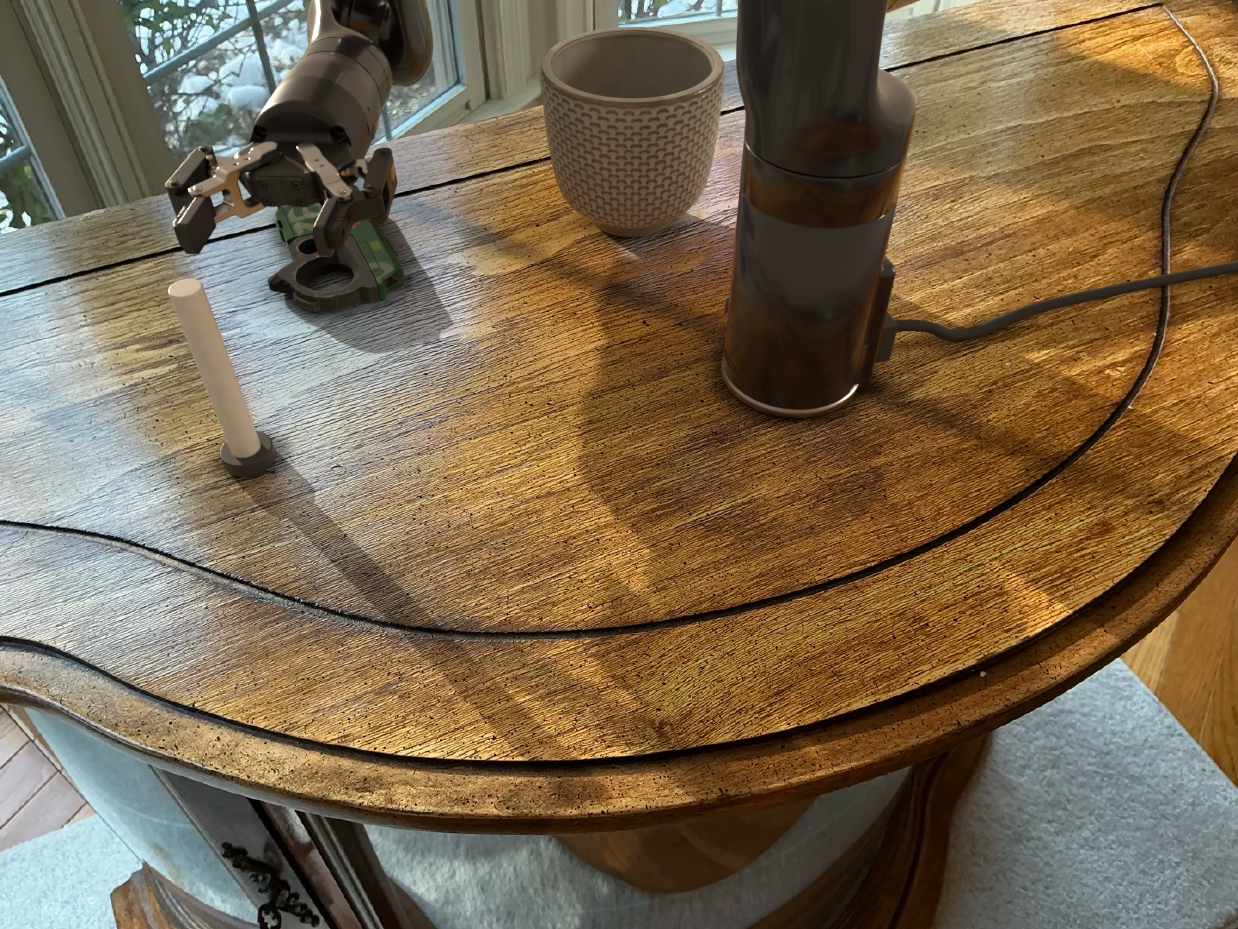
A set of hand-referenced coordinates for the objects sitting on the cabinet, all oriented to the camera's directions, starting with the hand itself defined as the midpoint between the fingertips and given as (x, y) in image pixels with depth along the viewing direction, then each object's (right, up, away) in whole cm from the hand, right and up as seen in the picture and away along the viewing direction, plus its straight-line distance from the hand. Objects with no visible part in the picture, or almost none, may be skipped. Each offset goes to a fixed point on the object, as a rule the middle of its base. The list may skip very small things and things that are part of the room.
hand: (253, 243), depth 61 cm
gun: (-1, +3, +17) cm, 18 cm away
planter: (+24, +7, +21) cm, 33 cm away
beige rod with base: (-1, -13, +1) cm, 13 cm away
